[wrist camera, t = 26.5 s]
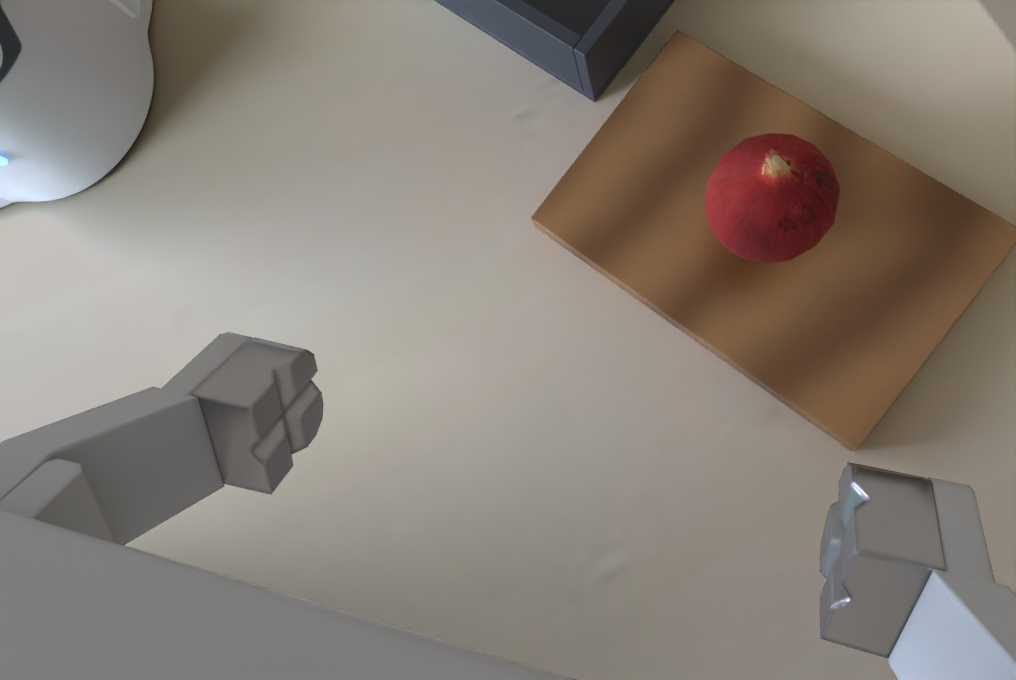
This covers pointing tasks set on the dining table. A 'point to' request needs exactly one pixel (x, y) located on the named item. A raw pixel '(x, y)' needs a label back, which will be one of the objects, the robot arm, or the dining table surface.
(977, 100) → the dining table surface
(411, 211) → the dining table surface
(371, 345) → the dining table surface
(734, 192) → the red pomegranate
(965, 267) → the cutting board
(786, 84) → the dining table surface
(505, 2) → the tub
